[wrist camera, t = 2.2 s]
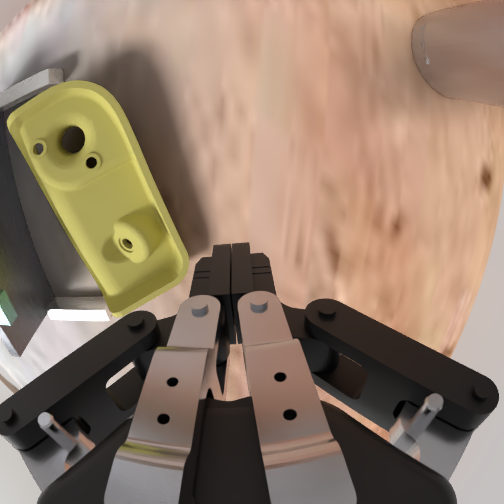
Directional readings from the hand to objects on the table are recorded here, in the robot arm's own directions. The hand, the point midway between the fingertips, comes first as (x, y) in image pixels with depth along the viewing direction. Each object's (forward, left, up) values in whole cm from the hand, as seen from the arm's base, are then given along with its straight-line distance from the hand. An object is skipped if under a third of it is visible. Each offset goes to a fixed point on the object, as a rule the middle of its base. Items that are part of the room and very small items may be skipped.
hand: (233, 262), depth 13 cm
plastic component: (+12, 0, -14) cm, 18 cm away
